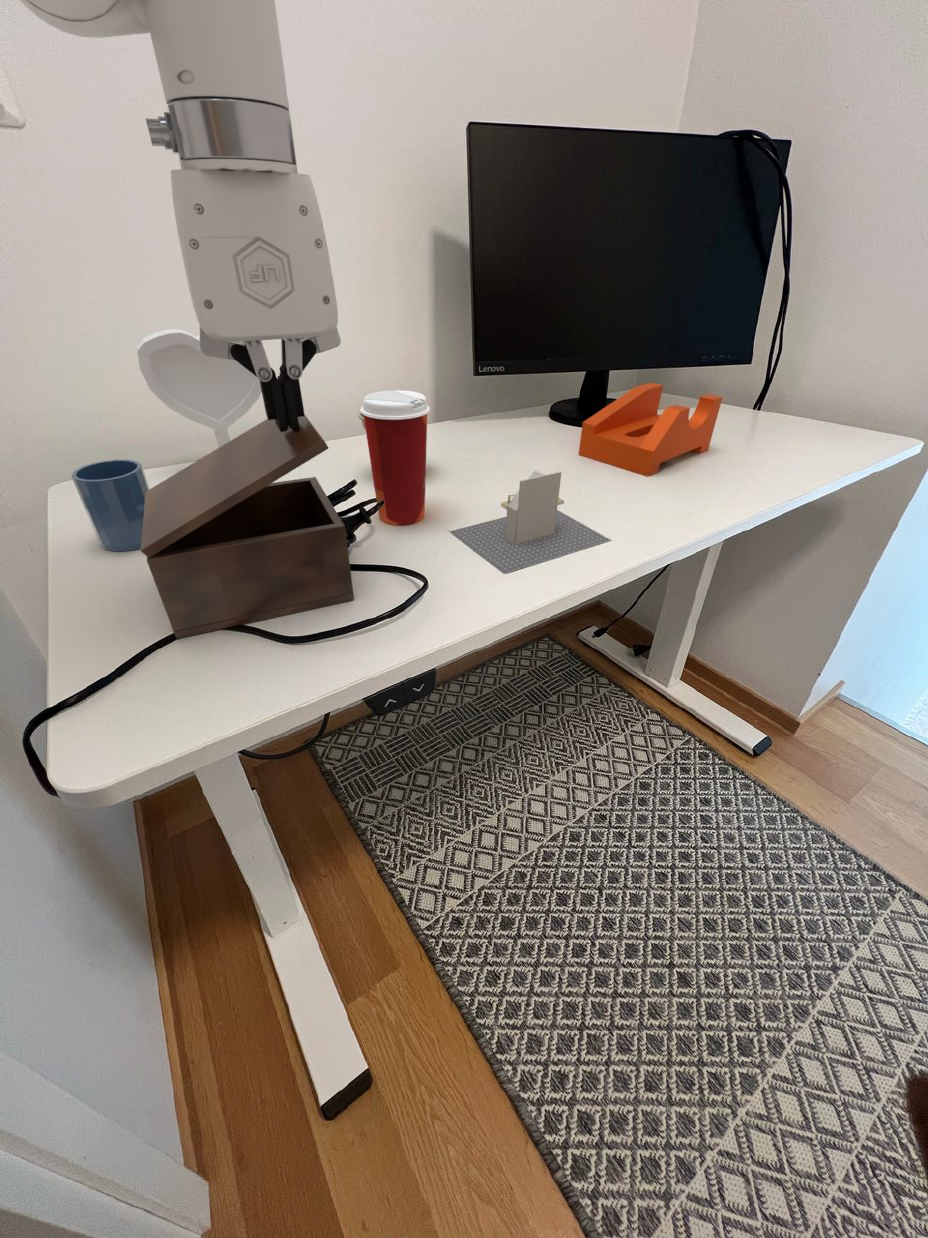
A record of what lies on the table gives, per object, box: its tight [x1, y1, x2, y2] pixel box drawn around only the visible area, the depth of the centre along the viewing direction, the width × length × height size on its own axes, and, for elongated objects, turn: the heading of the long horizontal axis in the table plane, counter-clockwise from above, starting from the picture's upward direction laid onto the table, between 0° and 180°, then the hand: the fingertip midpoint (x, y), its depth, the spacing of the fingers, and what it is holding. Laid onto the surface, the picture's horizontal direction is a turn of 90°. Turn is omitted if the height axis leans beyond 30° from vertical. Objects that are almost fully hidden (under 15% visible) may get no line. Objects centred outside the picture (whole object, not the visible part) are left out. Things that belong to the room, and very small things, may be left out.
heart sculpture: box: [136, 328, 262, 471], centre depth 76 cm, size 16×5×18 cm, turn 117°
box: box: [146, 476, 355, 640], centre depth 52 cm, size 16×13×8 cm
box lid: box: [140, 413, 329, 558], centre depth 47 cm, size 16×13×1 cm
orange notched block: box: [578, 382, 724, 477], centre depth 85 cm, size 18×13×8 cm
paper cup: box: [359, 389, 431, 526], centre depth 63 cm, size 8×8×14 cm
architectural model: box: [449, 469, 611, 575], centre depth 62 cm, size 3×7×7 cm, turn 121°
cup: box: [71, 459, 151, 552], centre depth 59 cm, size 6×6×8 cm
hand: (287, 426), depth 47 cm, fingers closed
